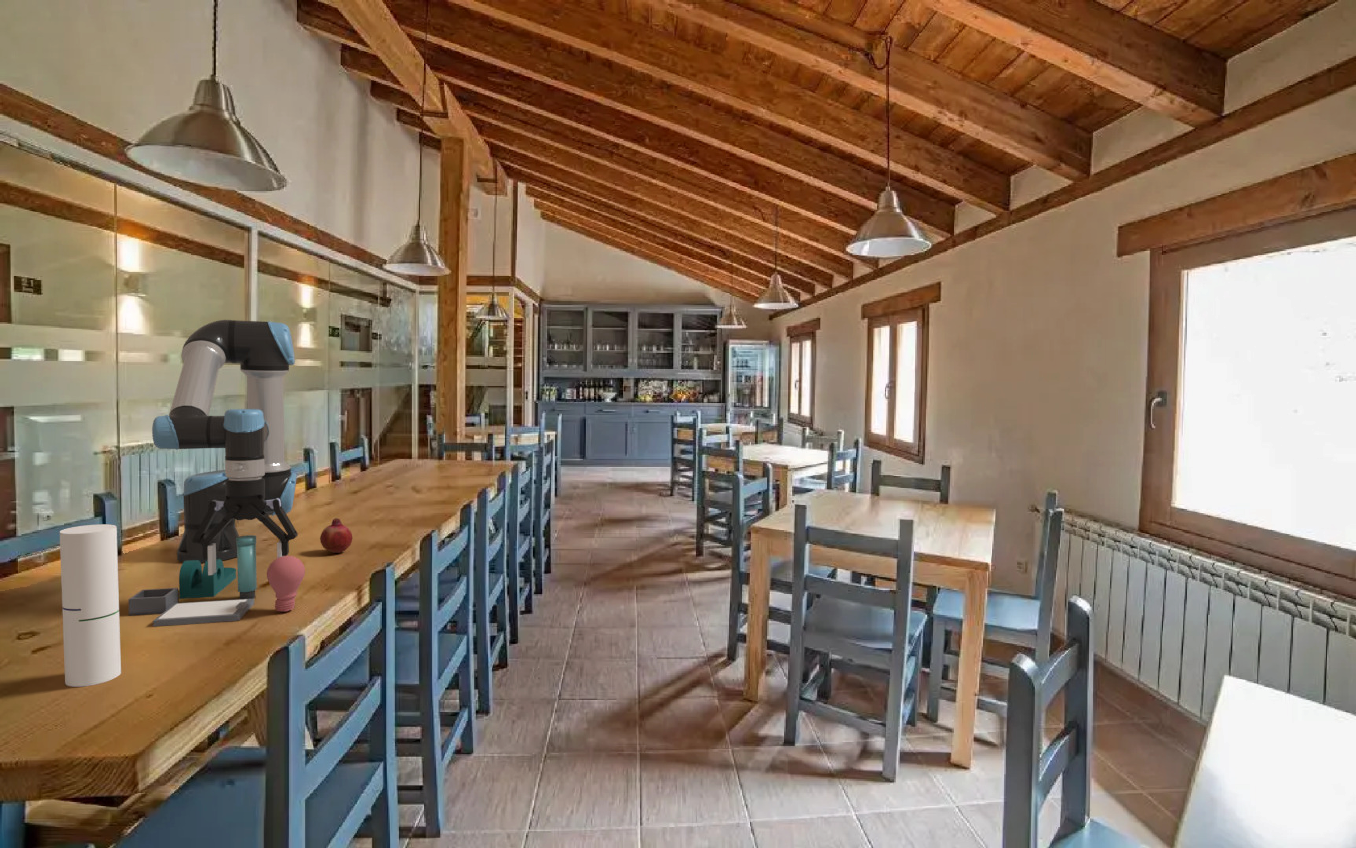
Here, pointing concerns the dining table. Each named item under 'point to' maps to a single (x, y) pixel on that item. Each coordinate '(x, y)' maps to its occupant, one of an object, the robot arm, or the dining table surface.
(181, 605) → the clipboard
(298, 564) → the light bulb
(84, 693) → the dining table surface
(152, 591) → the pen holder
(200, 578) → the bracket
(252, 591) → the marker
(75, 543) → the cylindrical container
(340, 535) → the fruit
